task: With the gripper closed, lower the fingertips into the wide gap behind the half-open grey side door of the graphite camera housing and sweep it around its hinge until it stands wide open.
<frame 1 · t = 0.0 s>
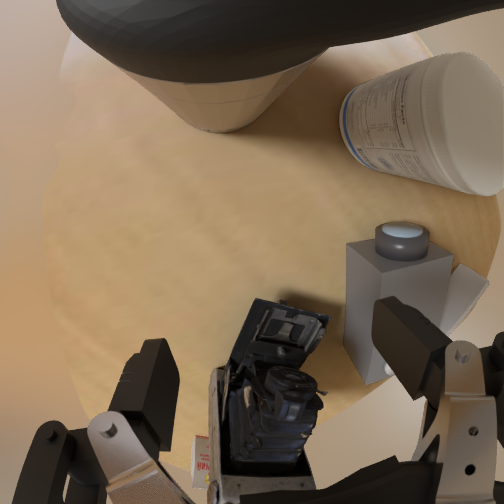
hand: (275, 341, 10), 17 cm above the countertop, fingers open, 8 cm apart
supplement tub: (375, 127, 24), on the countertop
side door: (447, 309, 29), point 4 cm above the countertop, hinge at 50.0°
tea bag: (212, 441, 38), on the countertop
vintage camera: (260, 344, 31), on the countertop
camera housing: (378, 292, 30), on the countertop
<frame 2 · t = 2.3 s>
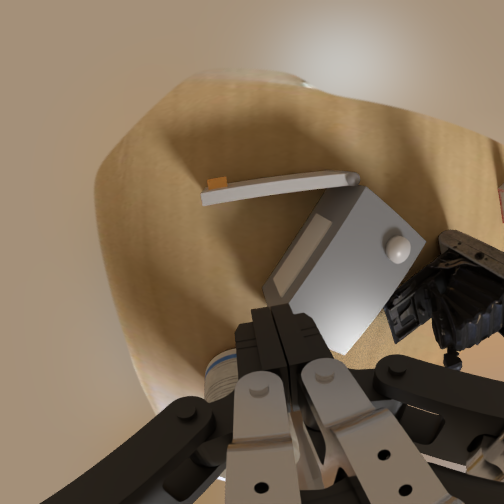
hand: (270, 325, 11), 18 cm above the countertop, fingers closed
supplement tub: (241, 370, 34), on the countertop
side door: (277, 180, 23), point 4 cm above the countertop, hinge at 50.0°
vintage camera: (418, 281, 33), on the countertop
camera housing: (328, 254, 30), on the countertop
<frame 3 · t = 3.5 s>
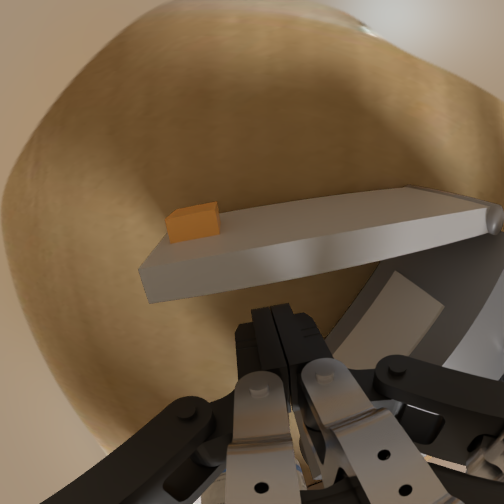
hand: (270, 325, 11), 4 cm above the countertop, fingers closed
supplement tub: (250, 465, 20), on the countertop
side door: (339, 211, 10), point 4 cm above the countertop, hinge at 50.0°
camera housing: (395, 327, 16), on the countertop
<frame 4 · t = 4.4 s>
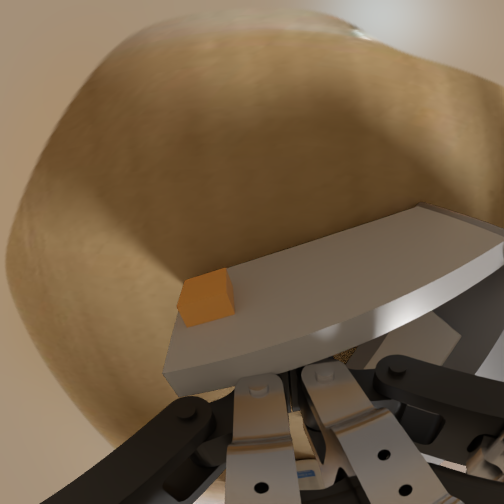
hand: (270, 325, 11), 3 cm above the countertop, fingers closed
supplement tub: (287, 474, 20), on the countertop
side door: (353, 263, 9), point 4 cm above the countertop, hinge at 50.0°, touching gripper
camera housing: (415, 338, 15), on the countertop
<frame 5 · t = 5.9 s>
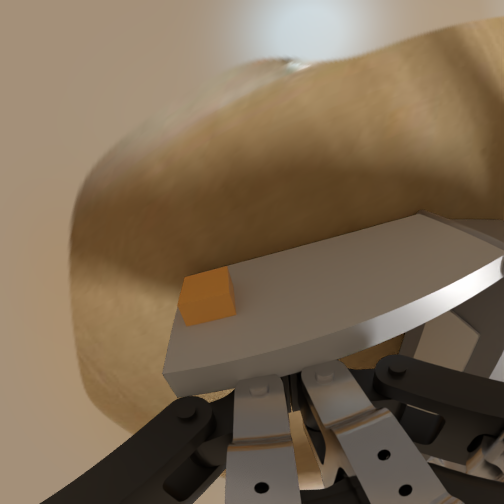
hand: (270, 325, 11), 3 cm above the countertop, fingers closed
side door: (355, 268, 9), point 4 cm above the countertop, hinge at 78.3°, touching gripper
camera housing: (451, 312, 16), on the countertop
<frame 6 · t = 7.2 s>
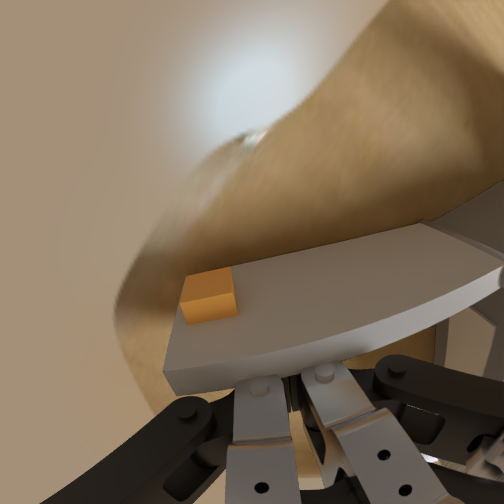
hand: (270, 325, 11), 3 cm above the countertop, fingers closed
side door: (357, 273, 9), point 4 cm above the countertop, hinge at 101.9°, touching gripper
camera housing: (475, 285, 15), on the countertop
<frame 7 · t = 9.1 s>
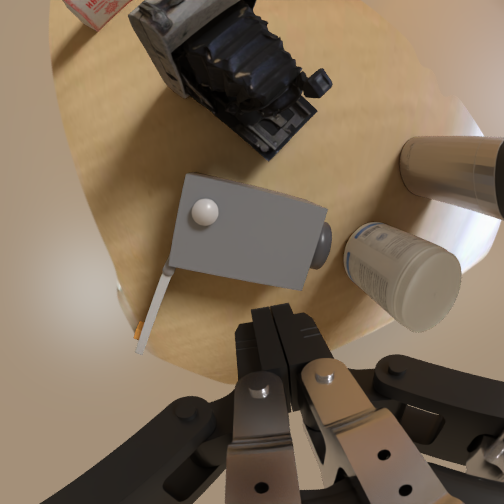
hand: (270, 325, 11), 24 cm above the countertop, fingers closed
supplement tub: (369, 251, 37), on the countertop
side door: (154, 300, 31), point 4 cm above the countertop, hinge at 102.0°
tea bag: (108, 11, 21), on the countertop
vintage camera: (239, 95, 29), on the countertop
camera housing: (241, 220, 33), on the countertop
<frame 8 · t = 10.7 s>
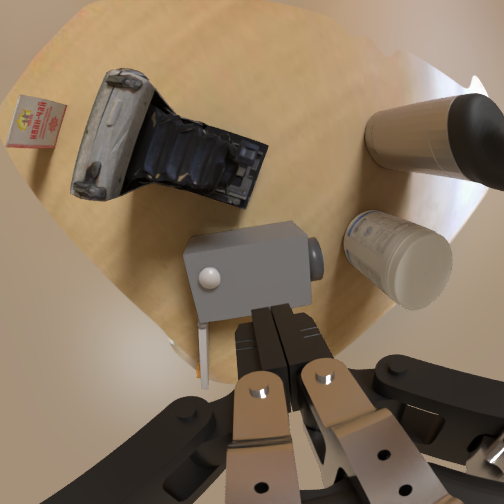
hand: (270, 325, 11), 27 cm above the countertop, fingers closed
supplement tub: (367, 238, 40), on the countertop
side door: (202, 345, 38), point 4 cm above the countertop, hinge at 102.0°
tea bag: (53, 125, 29), on the countertop
vintage camera: (199, 156, 34), on the countertop
camera housing: (246, 259, 38), on the countertop
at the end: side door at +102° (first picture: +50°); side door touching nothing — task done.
